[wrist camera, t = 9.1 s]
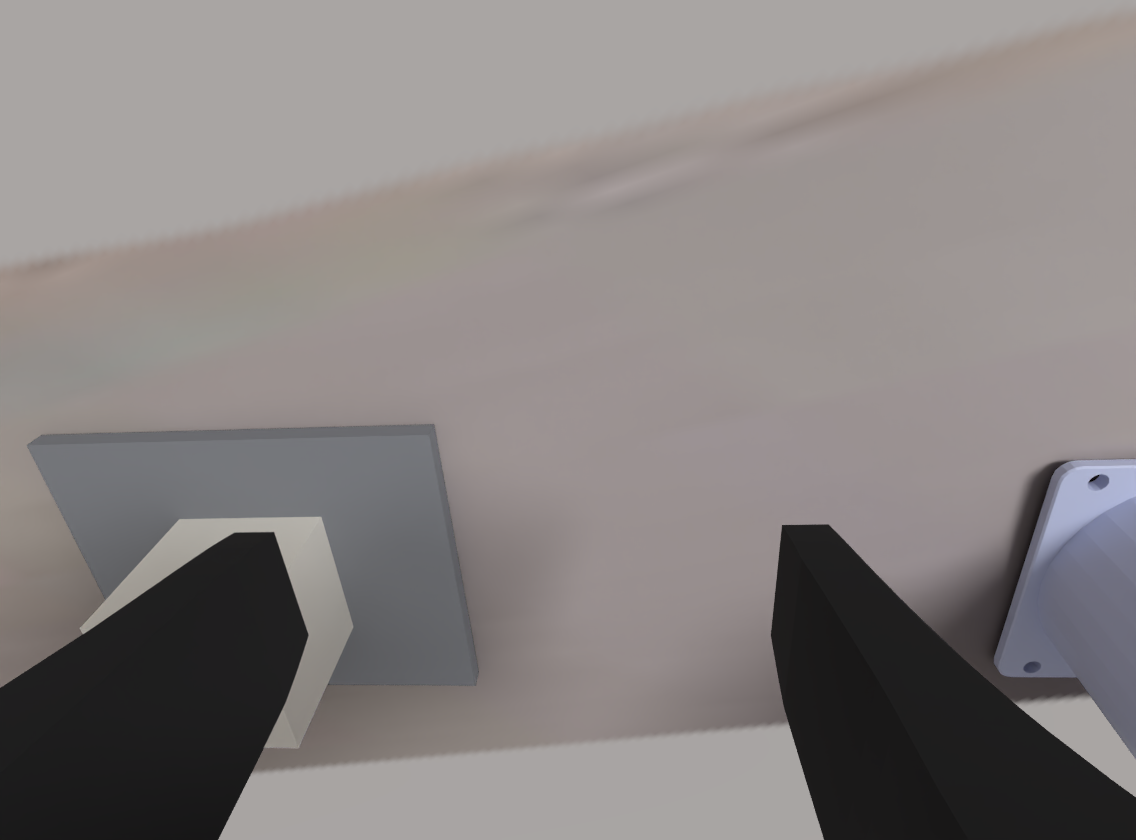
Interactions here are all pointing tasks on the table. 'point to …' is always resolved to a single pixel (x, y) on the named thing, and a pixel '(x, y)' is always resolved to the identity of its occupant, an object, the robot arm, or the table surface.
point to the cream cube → (310, 583)
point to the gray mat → (290, 489)
